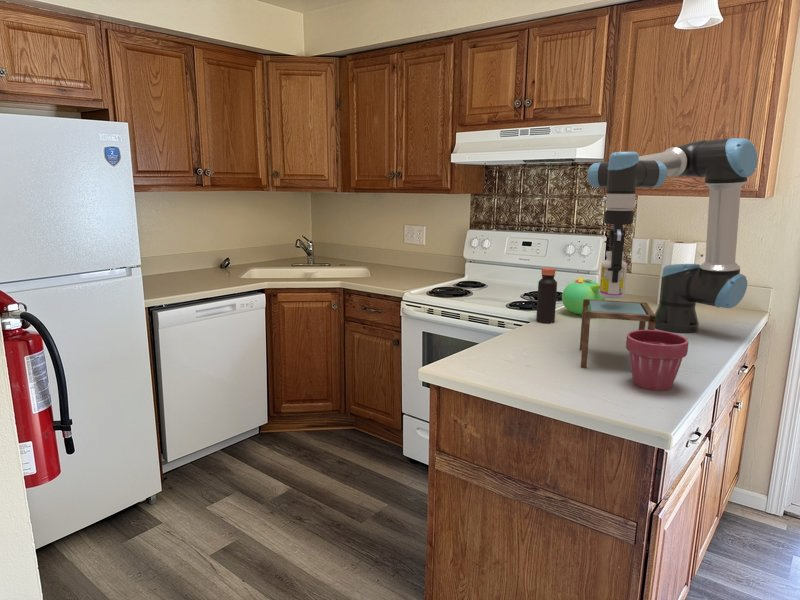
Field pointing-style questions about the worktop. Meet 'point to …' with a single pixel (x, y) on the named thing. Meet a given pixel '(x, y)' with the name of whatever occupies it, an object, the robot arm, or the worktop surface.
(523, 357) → the worktop surface
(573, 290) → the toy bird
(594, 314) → the frame
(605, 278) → the supplement bottle
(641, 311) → the trapdoor
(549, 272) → the vinegar
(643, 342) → the plant pot
